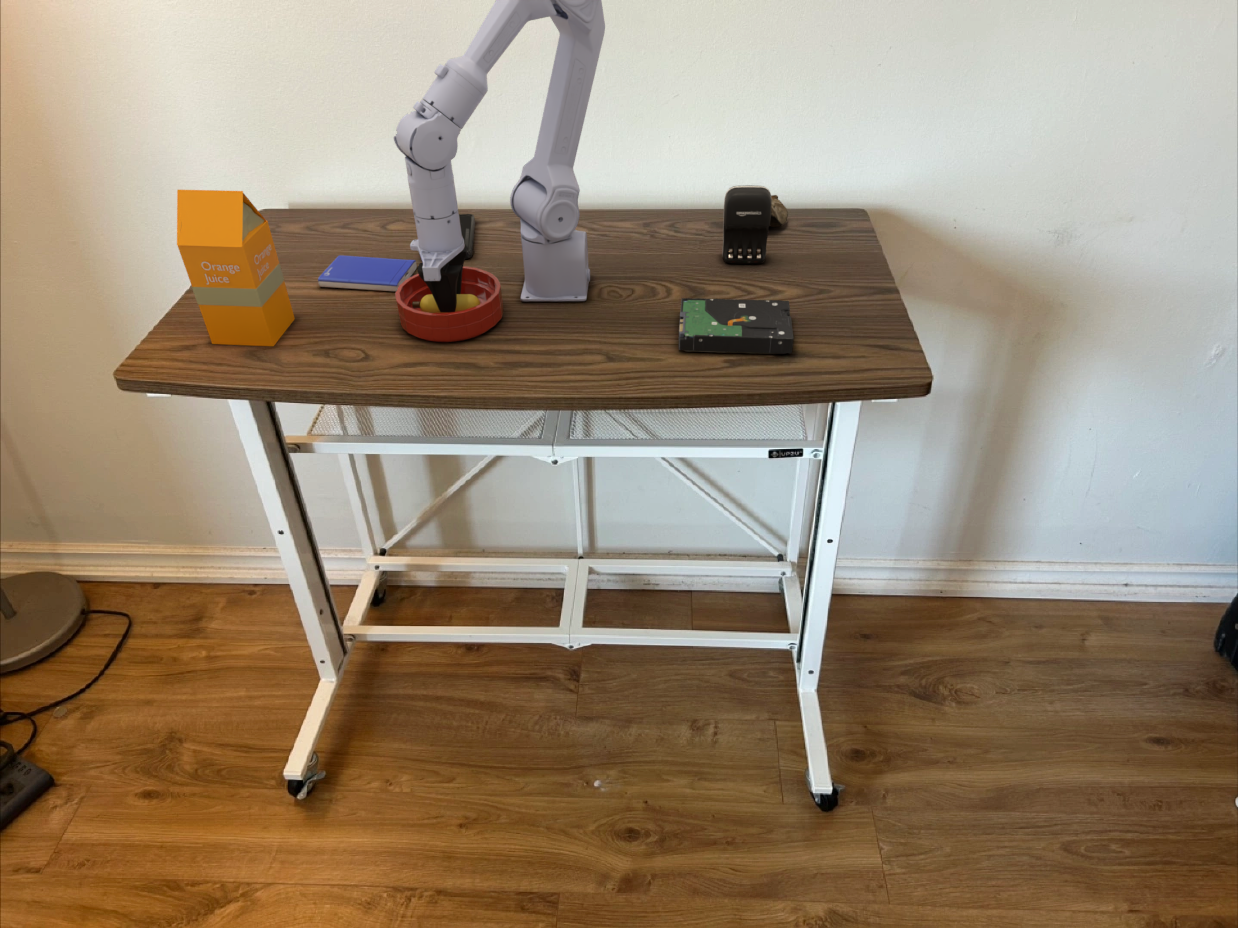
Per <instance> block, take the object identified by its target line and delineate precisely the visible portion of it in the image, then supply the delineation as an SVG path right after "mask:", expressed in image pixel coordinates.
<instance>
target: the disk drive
mask: <svg viewBox="0 0 1238 928" xmlns="http://www.w3.org/2000/svg"><path fill="white" fill-rule="evenodd" d="M790 305H791V304H790V301H789V300H780V299H768V300H767V299H738V298H737V299H735V298H734V299H733V298H703V297H699V298H698V297H697V298H692V297H691V298H690V297H686V298H685V297H681V300H680V312H679V327H678V350H679V351H684V352H701V353H702V352H704V353H733V354H735V353H737V354H761V355H762V354H764V355H766V354H767V355H772V354H773V355H776V354H779V355H785V354H792V353H793V346H794V339H795V337H794V331H793V323H792V316H791V307H790Z"/></svg>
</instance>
